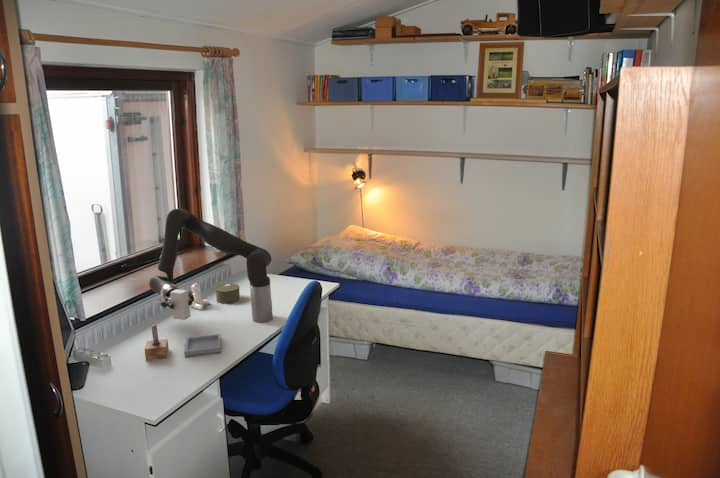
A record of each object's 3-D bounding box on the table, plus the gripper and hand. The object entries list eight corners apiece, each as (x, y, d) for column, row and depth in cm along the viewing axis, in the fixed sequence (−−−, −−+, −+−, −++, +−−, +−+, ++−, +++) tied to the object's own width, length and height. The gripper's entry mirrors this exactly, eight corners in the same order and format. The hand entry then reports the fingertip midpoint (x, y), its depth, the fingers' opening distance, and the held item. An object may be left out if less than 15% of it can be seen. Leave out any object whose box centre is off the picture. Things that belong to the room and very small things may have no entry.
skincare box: (191, 316, 239) (188, 290, 236) (184, 320, 235) (181, 293, 232) (179, 315, 241) (176, 288, 238) (172, 318, 237) (169, 292, 234)
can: (215, 305, 283) (214, 292, 281) (217, 297, 294) (216, 284, 292) (240, 303, 285) (239, 290, 283) (240, 295, 296) (239, 282, 295)
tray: (220, 339, 243) (220, 333, 242) (220, 353, 230) (220, 347, 229) (187, 342, 240) (186, 337, 239) (184, 357, 226) (184, 351, 226)
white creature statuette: (201, 310, 276) (199, 287, 273) (185, 309, 277) (183, 286, 274) (210, 303, 285) (208, 281, 282) (195, 302, 286) (192, 280, 283)
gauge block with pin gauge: (168, 349, 233) (165, 320, 230) (166, 358, 226) (163, 328, 223) (148, 352, 232) (144, 322, 228) (145, 360, 224) (142, 330, 221)
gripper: (153, 289, 243) (163, 300, 230) (186, 282, 251) (198, 292, 237) (155, 305, 245) (165, 317, 232) (188, 298, 253) (199, 309, 239)
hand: (182, 304), depth 234 cm, fingers closed on skincare box, 6 cm apart
